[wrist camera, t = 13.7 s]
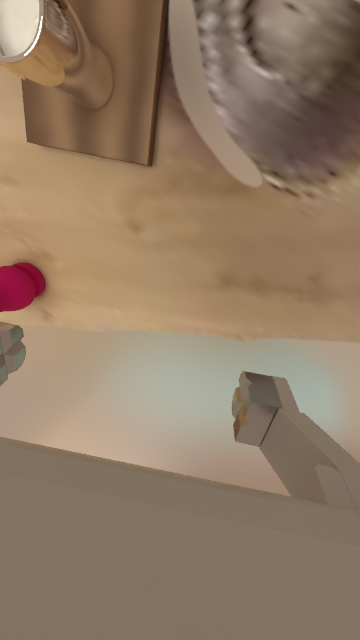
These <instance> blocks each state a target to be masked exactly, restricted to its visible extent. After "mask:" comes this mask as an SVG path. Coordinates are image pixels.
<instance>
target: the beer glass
mask: <svg viewBox="0 0 360 640" xmlns="http://www.w3.org/2000/svg"><path fill="white" fill-rule="evenodd" d="M0 64H1V65H2V66H3V67H5V68H6V69H8V70H9V71H11V72H12V73H13V74H15V75H17V76H18V77H20V78H22V79H23V80H25V81H27V82H29V83H31V84H33V85H35V86H37V87H39V88H42V89H45V90H48V91H52V92H57V93H62V94H68V96H69V97H70V98H71V99H72V100H73V101H74V102H75V103H76V104H77V105H78V106H80V107H82V108H84V109H87V110H96V109H99V108H101V107H103V106H104V105H105V104H106V103H107V102H108V100H109V98H110V96H111V94H112V91H113V85H114V76H113V70H112V66H111V63H110V61H109V59H108V57H107V55H106V54H105V52H104V51H103V50H102V49H101V48H100V47H99V46H98V45H96V44H95V43H93V42H91V41H89V39H88V37H87V34H86V32H85V30H84V28H83V26H82V24H81V21H80V19H79V17H78V15H77V14H76V12H75V10H74V8H73V6H72V4H71V3H70V1H69V0H0Z"/></svg>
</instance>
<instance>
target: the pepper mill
mask: <svg viewBox="0 0 360 640" xmlns="http://www.w3.org/2000/svg"><path fill="white" fill-rule="evenodd" d="M44 287H45V282H44V278H43V276H42V274H41V273H40V271H39V270H38V269H37V268H35V267H34V266H32V265H30V264H27V263H18V264H15V265H13V266H3V267H0V312H2V311H16V310H20V309H23V308H25V307H27V306H28V305H30V304H31V303H32V301H33V300H34V298H35V297H37V296H38V295H40V294H41V293H42V292H43V290H44Z"/></svg>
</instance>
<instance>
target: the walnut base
mask: <svg viewBox="0 0 360 640" xmlns="http://www.w3.org/2000/svg"><path fill="white" fill-rule="evenodd" d="M69 1H70V3H71V4H72V6H73V8H74V10H75V12H76V14H77V15H78V17H79V19H80V21H81V24H82V26H83V28H84V30H85V32H86V34H87V37H88V39H89V41H91V42H93V43H95V44H96V45H98V46H99V47H100V48H101V49H102V50H103V51H104V52H105V54H106V55H107V57H108V59H109V61H110V63H111V66H112V70H113V76H114V85H113V91H112V94H111V96H110V98H109V100H108V102H107V103H106V104H105V105H104V106H103V107H101V108H99V109H96V110H87V109H84V108H82V107H80V106H78V105H77V104H76V103H75V102H74V101H73V100H72V99H71V98H70V97H69V96H68V94H62V93H57V92H52V91H48V90H45V89H42V88H39V87H37V86H35V85H33V84H31V83H29V82H27V81H25V80H23V79H22V78H21V80H22V91H23V102H24V113H25V124H26V136H27V142H30V143H34V144H38V145H43V146H48V147H54V148H59V149H64V150H69V151H74V152H80V153H85V154H90V155H95V156H100V157H106V158H111V159H116V160H121V161H126V162H131V163H137V164H142V165H147V166H152V159H153V149H154V140H155V130H156V120H157V110H158V101H159V91H160V81H161V71H162V61H163V52H164V42H165V32H166V22H167V13H168V3H169V2H168V0H69Z"/></svg>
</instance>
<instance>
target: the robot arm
mask: <svg viewBox="0 0 360 640" xmlns="http://www.w3.org/2000/svg"><path fill="white" fill-rule="evenodd" d="M23 337H24V334H23V329H22V328H21V327H20V326H18V325H13V324H9V323H4V322H0V386H1V385H2V384H3V383H4V382H5V381H6V380H7V379H8V374H9V373H12V372H14V371H17V369H18V368H19V367H20V366H21V365H22V363H23V361H24V359H25V355H26V348H25V346H24V345H23V343H22V342H21V339H22V338H23ZM239 384H240V386H239V387H238V388H236V389H235V392H234V395H233V401H232V415H233V416H234V417H235V419H236V420H235V422H234V425H233V427H234V437H235V441H236V442H240V443H245V444H249V445H253V446H258V447H260V450H261V451H262V453H263V454H264V456H265V457H266V459H267V460H268V462H269V463H270V465H271V466H272V468H273V469H274V471H275V472H276V473H277V475H278V476H279V478H280V480H281V481H282V482H283V484H284V486H285V487H286V488H287V490H288V492H289V493H290V494H291V496H292V497H289V496H285V495H280V494H275V493H270V492H265V491H260V490H256V489H250V488H246V487H241V486H236V485H231V484H226V483H221V482H217V481H211V480H207V479H202V478H197V477H192V476H188V475H183V474H178V473H173V472H168V471H164V470H158V469H153V468H149V467H144V466H139V465H134V464H129V463H125V462H120V461H115V460H110V459H105V458H100V457H96V456H90V455H86V454H81V453H76V452H71V451H66V450H61V449H57V448H52V447H47V446H42V445H37V444H32V443H28V442H23V441H18V440H13V439H8V438H4V437H0V640H360V463H359V462H358V461H356V460H355V459H354V458H353V457H352V456H351V455H350V454H349V453H348V452H346V451H345V450H344V449H343V448H342V447H341V446H340V445H339V444H338V443H336V442H335V441H334V440H333V439H332V438H331V437H330V436H329V435H328V434H327V433H325V432H324V431H323V430H322V429H321V428H320V427H319V426H318V425H316V424H315V423H314V422H313V421H312V420H311V419H310V418H309V417H308V416H306V415H305V414H304V413H300V412H299V409H298V407H297V404H296V402H295V400H294V397H293V394H292V392H291V390H290V387H289V384H288V382H287V380H286V379H285V378H280V377H275V376H267V375H261V374H256V373H251V372H246V371H243V372H242V373H241V375H240V378H239Z"/></svg>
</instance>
